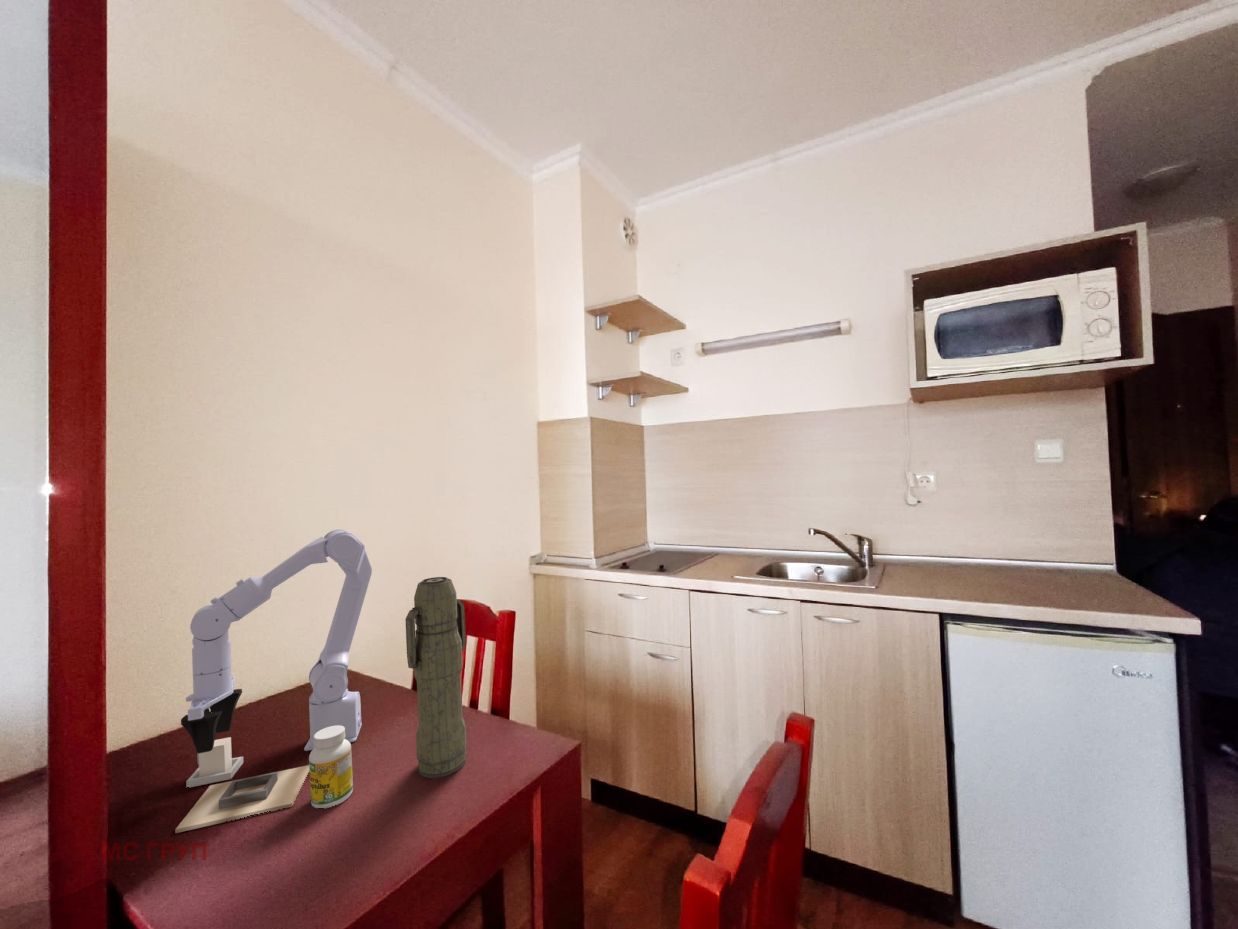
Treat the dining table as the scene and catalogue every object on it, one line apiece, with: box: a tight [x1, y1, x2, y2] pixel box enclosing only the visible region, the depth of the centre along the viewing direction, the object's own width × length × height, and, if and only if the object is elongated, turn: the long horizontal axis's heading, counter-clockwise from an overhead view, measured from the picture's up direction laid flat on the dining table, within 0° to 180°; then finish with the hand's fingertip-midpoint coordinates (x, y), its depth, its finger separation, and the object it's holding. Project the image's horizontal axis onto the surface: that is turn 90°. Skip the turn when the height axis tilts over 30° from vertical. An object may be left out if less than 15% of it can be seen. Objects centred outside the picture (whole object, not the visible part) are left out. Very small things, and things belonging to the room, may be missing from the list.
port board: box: [174, 764, 310, 834], centre depth 87 cm, size 16×12×2 cm
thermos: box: [405, 576, 467, 779], centre depth 95 cm, size 9×12×35 cm
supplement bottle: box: [308, 725, 354, 809], centre depth 86 cm, size 6×6×11 cm
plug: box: [196, 736, 233, 777], centre depth 94 cm, size 4×3×6 cm, turn 109°
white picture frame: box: [185, 756, 244, 789], centre depth 94 cm, size 7×6×1 cm
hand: (214, 741), depth 94 cm, fingers open, 7 cm apart
